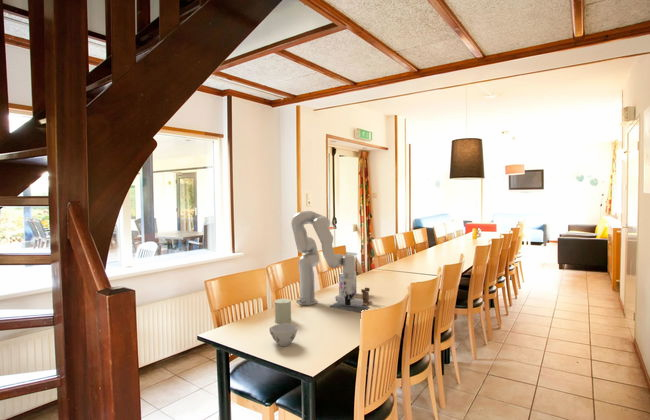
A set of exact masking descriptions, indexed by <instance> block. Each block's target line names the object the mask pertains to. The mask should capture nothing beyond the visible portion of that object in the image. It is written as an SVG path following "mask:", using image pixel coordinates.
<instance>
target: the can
mask: <svg viewBox="0 0 650 420" xmlns="http://www.w3.org/2000/svg"><path fill="white" fill-rule="evenodd" d="M274 322H275V323H276V324H277V325H279V324H283V323H288V324H290V323H291V322H292V300H291V299H290V298H278V299H275V300H274Z"/></svg>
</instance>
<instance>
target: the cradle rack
mask: <svg viewBox="0 0 650 420" xmlns="http://www.w3.org/2000/svg"><path fill="white" fill-rule="evenodd" d="M360 291H361V294H362V297H361V299H363V305H362V306H368V307H369V305H371V304H373V301H371V300H370V298H369V297H370V296H369V294H370V287H364V289H363V288H362V289H360ZM347 296H348V295H347Z"/></svg>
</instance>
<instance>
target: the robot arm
mask: <svg viewBox="0 0 650 420" xmlns="http://www.w3.org/2000/svg"><path fill="white" fill-rule="evenodd" d="M308 224H310V225H312V227H313V230H314V231H315V233H316V235H317V237H318V239H319V241H320V244H321V250H322V255H323V257H324V259H325V261H326V263H327V265H328V266H329V267H330V268H331V269H337V268H338V267H342V273H343V285H342V291H343V296H344V297H345V305H350V299H349V297H351V298H354V295H355V294H354V292H356V293H357V280H356V281H355V271H356V266H355V265H356V264H355V260H356V259H355V256H354V255H352V254H342V253H335V251H334V248H333V243H334V236H333V234H332V232H331V230H330V228H329V227H330V225H331V222H330V219H329V218H328V217H327V216H325V215H322V214H319V213H317V212H315V211H312V210H305V211H299V212H297V213H296V214H294V215H293V217H292V220H291V228H292V233H293V237H294V242H295V247H296V250H297V251H298V252H299V253H300V254H303V255H302V256H301V257H300V258H299V260H298V263H297V264H298V270H299V298H298V299H296V300H295V301H296V303H297V304H299V305H301V306H312V305H316V304H317V303H318V300H317V299H316V298H315V297H316V295H315V272H314V267H316V266H317V265H318V264H319V262H320V255H319V251H318V247H317V243H316V241H315V240H314V238H312V237H310V236H309V235H308V232H307V229H306V228H305V225H308ZM353 294H354V295H353ZM347 295H348V296H347Z"/></svg>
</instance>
